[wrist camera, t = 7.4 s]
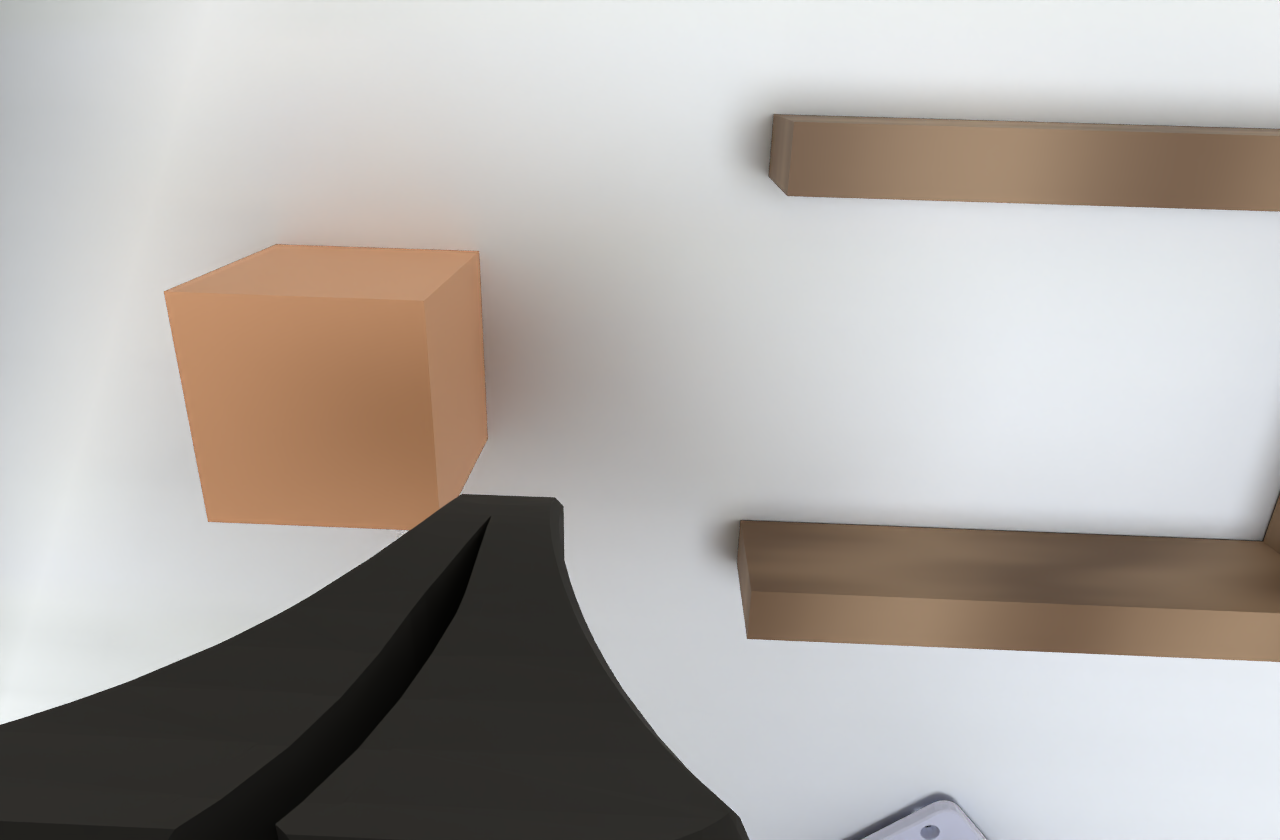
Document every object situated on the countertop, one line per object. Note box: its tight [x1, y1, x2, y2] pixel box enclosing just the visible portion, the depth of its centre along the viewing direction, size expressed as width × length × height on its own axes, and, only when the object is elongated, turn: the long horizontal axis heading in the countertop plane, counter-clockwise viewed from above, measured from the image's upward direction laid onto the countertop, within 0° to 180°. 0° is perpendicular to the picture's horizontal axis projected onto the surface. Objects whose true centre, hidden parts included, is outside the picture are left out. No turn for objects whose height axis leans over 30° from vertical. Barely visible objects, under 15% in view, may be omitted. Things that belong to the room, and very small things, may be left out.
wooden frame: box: [737, 114, 1280, 662], centre depth 17 cm, size 14×10×3 cm
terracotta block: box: [164, 244, 488, 530], centre depth 17 cm, size 4×4×4 cm
